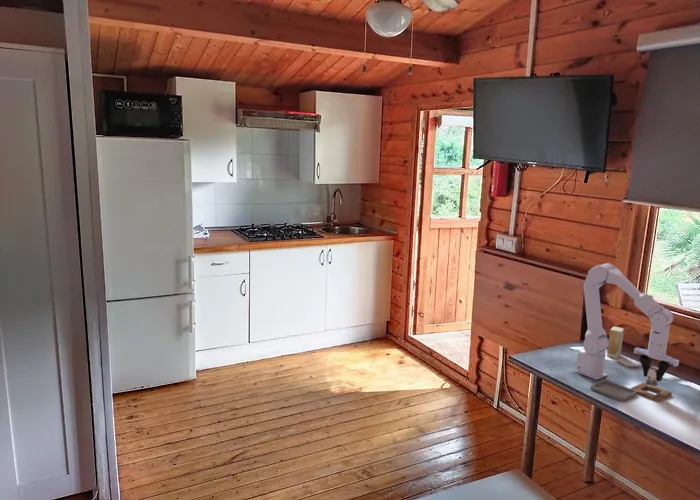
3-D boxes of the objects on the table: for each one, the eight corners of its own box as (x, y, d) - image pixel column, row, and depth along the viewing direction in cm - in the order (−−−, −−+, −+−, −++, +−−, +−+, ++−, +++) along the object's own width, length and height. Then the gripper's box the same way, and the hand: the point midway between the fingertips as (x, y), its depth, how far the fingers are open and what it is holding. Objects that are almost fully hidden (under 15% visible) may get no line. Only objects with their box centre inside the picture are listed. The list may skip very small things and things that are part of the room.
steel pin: (643, 382, 192) (645, 367, 191) (648, 380, 194) (650, 364, 193) (654, 386, 189) (657, 371, 188) (660, 384, 191) (662, 368, 190)
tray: (590, 389, 194) (590, 385, 193) (604, 383, 200) (605, 379, 199) (623, 402, 184) (623, 398, 184) (636, 395, 190) (637, 391, 190)
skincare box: (610, 352, 232) (613, 325, 230) (620, 355, 230) (624, 328, 228) (606, 356, 228) (609, 329, 225) (617, 359, 225) (620, 331, 223)
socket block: (629, 391, 193) (630, 388, 193) (642, 385, 199) (643, 382, 199) (658, 402, 185) (659, 399, 185) (671, 395, 191) (671, 392, 191)
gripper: (685, 346, 185) (679, 383, 188) (642, 334, 197) (637, 368, 199) (676, 350, 181) (670, 387, 184) (633, 337, 192) (628, 372, 195)
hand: (652, 378), depth 191 cm, fingers closed on steel pin, 4 cm apart
